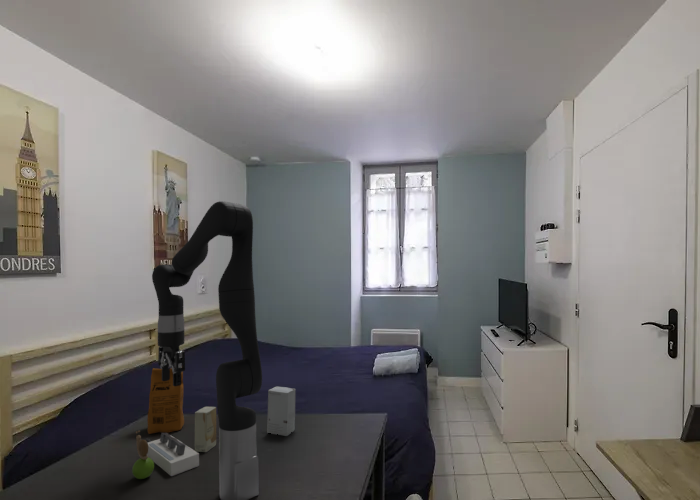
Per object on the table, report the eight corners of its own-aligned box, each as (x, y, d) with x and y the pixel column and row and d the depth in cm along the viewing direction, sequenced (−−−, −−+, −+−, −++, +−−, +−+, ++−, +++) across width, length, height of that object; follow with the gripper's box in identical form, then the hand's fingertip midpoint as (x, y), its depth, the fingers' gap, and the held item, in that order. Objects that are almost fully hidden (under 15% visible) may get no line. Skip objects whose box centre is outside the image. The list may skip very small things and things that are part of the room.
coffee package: (151, 425, 151) (151, 365, 152) (187, 422, 153) (186, 363, 154) (143, 435, 141) (143, 372, 142) (181, 432, 143) (180, 369, 145)
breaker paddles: (183, 453, 118) (185, 444, 118) (178, 454, 117) (180, 445, 117) (164, 440, 128) (166, 432, 128) (159, 441, 126) (161, 432, 127)
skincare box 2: (266, 433, 140) (266, 390, 141) (275, 427, 146) (275, 385, 146) (288, 436, 137) (287, 392, 138) (296, 429, 143) (295, 387, 144)
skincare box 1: (206, 453, 126) (206, 413, 127) (194, 452, 127) (193, 412, 128) (217, 444, 133) (216, 406, 133) (205, 443, 133) (205, 405, 134)
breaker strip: (199, 465, 118) (198, 453, 118) (171, 476, 112) (171, 462, 112) (158, 437, 139) (158, 426, 139) (133, 445, 133) (133, 433, 134)
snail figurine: (147, 470, 116) (147, 427, 117) (157, 476, 112) (157, 432, 113) (127, 477, 112) (127, 433, 112) (137, 485, 108) (137, 439, 108)
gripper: (193, 330, 122) (193, 384, 121) (174, 326, 132) (174, 376, 131) (168, 333, 116) (168, 390, 115) (149, 329, 126) (149, 381, 125)
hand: (171, 383), depth 123 cm, fingers open, 8 cm apart
